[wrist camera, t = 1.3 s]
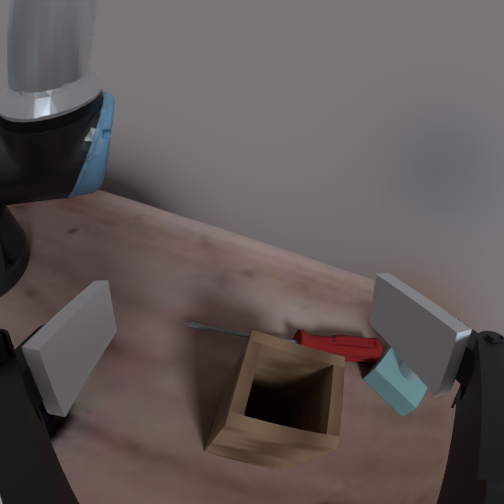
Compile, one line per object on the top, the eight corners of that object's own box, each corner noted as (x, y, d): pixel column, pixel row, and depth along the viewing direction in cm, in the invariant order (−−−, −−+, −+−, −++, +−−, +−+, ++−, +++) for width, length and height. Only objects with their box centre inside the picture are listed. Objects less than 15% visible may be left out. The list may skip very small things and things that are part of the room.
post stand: (362, 379, 35) (403, 343, 30) (388, 346, 40) (424, 309, 34) (402, 416, 32) (448, 387, 26) (423, 380, 37) (463, 347, 31)
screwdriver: (188, 320, 36) (191, 302, 34) (368, 346, 40) (381, 333, 38) (184, 344, 34) (186, 328, 31) (372, 368, 37) (386, 355, 35)
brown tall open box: (204, 451, 25) (225, 424, 17) (224, 385, 31) (252, 329, 23) (280, 470, 25) (337, 449, 17) (293, 405, 31) (345, 357, 23)
